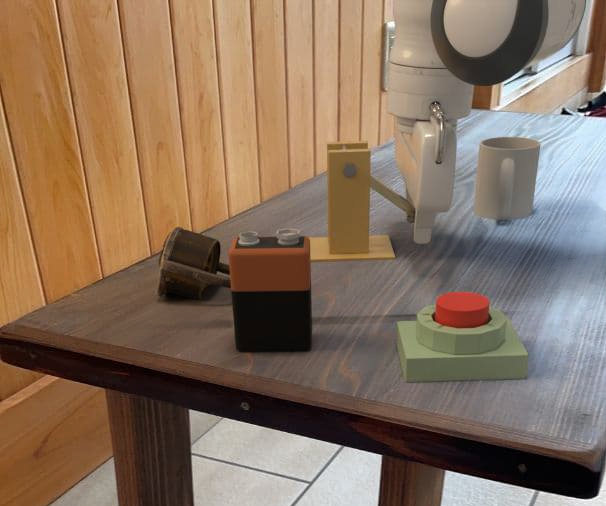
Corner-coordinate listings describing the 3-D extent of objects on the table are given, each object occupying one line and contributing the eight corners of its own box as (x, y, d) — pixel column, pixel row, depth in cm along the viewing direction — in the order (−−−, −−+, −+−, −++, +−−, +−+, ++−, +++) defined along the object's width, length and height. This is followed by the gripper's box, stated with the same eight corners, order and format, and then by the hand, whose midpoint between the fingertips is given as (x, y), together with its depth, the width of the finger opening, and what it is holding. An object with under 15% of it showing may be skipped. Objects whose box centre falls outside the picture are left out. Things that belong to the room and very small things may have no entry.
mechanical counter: (192, 224, 91) (129, 227, 83) (294, 227, 85) (237, 230, 77) (195, 294, 94) (134, 303, 86) (295, 301, 87) (239, 312, 80)
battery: (310, 352, 76) (308, 239, 70) (235, 353, 76) (226, 240, 71) (312, 333, 80) (310, 224, 74) (240, 334, 80) (232, 225, 74)
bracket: (388, 245, 101) (391, 137, 94) (394, 267, 94) (399, 152, 87) (303, 248, 101) (300, 140, 94) (304, 270, 94) (301, 156, 87)
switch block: (505, 340, 77) (511, 297, 75) (525, 379, 71) (531, 333, 68) (395, 344, 77) (397, 301, 75) (405, 382, 71) (407, 337, 68)
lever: (416, 222, 98) (429, 204, 97) (423, 237, 93) (436, 219, 92) (330, 160, 94) (342, 140, 93) (332, 173, 89) (345, 152, 88)
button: (482, 310, 74) (484, 290, 72) (492, 330, 70) (494, 309, 69) (431, 312, 74) (432, 292, 73) (438, 332, 70) (440, 311, 69)
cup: (530, 211, 110) (540, 137, 105) (531, 234, 102) (541, 155, 97) (474, 210, 112) (480, 136, 106) (470, 233, 104) (477, 154, 98)
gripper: (478, 114, 79) (459, 262, 88) (445, 78, 96) (432, 206, 104) (411, 113, 79) (398, 261, 87) (389, 77, 95) (380, 205, 104)
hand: (416, 231), depth 96 cm, fingers closed on lever, 6 cm apart
